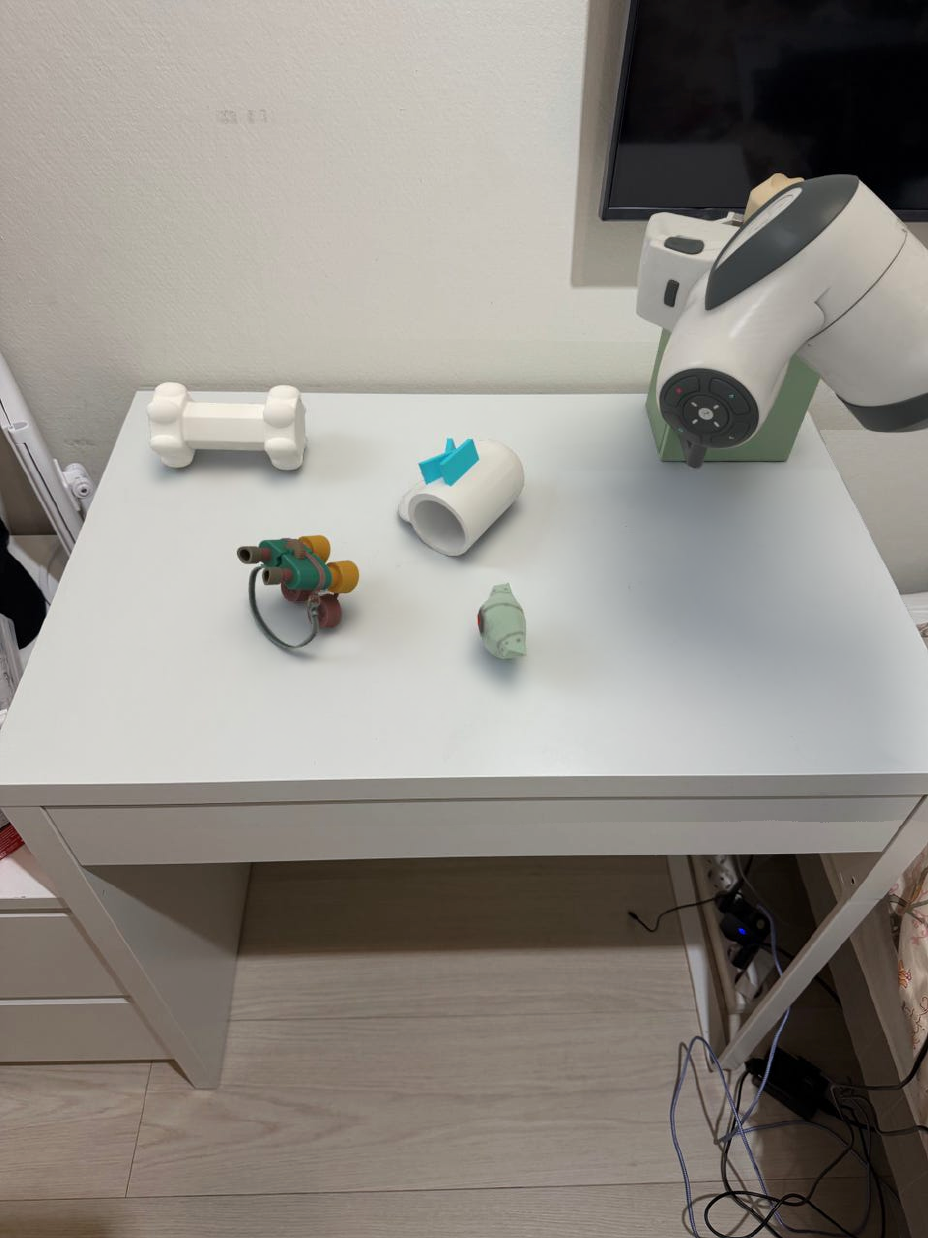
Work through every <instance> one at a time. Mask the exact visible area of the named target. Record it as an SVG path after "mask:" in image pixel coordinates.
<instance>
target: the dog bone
mask: <svg viewBox="0 0 928 1238" xmlns="http://www.w3.org/2000/svg"><path fill="white" fill-rule="evenodd" d="M301 397H302V395H301V392H300V390H299V389H298V388H296V387H295V386H292V385H287V384H279V385H275V386H273V387H272V388H271V389H269V390H268V392H267V397H266V401H265V403H237V402H236V403H233V402H231V403H230V402H195V401H194V400H193V399H192V397H191V396H190V394H189V391H188V389H187V388H186V386H185V385H183V384H181V383H179V382H174V381H173V382H172V381H170V382H169V381H167V382H163V383H160V384H158V385H157V386H156V387H155V389H154V392H153V397H152V399H151V402H149V404H147V406H146V412H145V413H146V416H147V418H148V428H149V435H150V436H149V438H150V441H149V448H150V449H151V450H152V451H153V452H154V453H156V454H158V455H159V456H160V461H161V462H162V464H164V466H166V467H170V468H176V469H177V468H184V467H187V466H189V465H190V464H191V463H192V462H193V459H194V455H195V453H196V451H197V450H218V451H219V450H221V451H223V450H225V451H264V452H265V453H266V454H267V455H268V457H269V458H270V461H271V464H272V466H273V467H275V468H276V469H279V470H280V471H281V470H282V471H293V470H296V469H298V468H300V467H301V466H302V464H303V462H304V452H305V448H306V446H307V444H308V438H307V434H306V433H307V431H306V412H307V408H306V406H305V404H304V403H303V401H302V398H301Z"/></svg>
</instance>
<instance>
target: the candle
mask: <svg viewBox="0 0 928 1238" xmlns="http://www.w3.org/2000/svg"><path fill="white" fill-rule="evenodd" d="M801 181H805V179H804V178H803V177H794V178H793V177H792V178H788V177H787V176H786V175H784V174H783V173H773V175H772V176H770V177H769V178H768V179H766V180H764V181H763V182H761V183H760V184H758V185H757V186H755V188H753V189H752V190H751V191H750V193H749V198H748V201H747V205H746V208H745V211H744V214H743V215H744V218H743V223H742V225H743V224H744V223H745V222H746V221H747V220H748V219H749V218H750V217H751V216H752V215H753V214H754V213H755V212H756V211H757V210H758V209H759V208H760V207H761V206H762V205H764V204H765V203H766V202H767V201H768V200H769V199H771V198H772V197H773V196H774V195H776V194H777V193H778V192H780V191H781V190H783V189H784V188H786V187H788V186H790V185H792V184H794V183H797V182H801Z"/></svg>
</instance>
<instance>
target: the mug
mask: <svg viewBox="0 0 928 1238" xmlns="http://www.w3.org/2000/svg"><path fill="white" fill-rule="evenodd" d="M445 443H446V444H445V448H444V453H443V452H442V453H440V454H439V455H435V456H432V457H431V458H428V459H425V460H423V461H421V462H418V467H419V470H420V472H421V476H422V477H423V480H421V481H420V482H418V483H416V484H415V485H414V486H413V487H411V488H410V489H409V490H408V491H407V492H406V493H404V495H403V496H402V497H401V500H400V502H399V503H398V508H397V513H398V515H399V517H400V518H401V519H402V520H404V521H405V522H407V523H410V525H411V526H412V528H413V529H414V531H415V533H416V534H417V535H418V536H419V538H420V539H421V540H422V541H423V542H424V543H425V544H426V545H428V547H430V548H431V549H433V550H434V551H436V552H438V553H440V554H442V555H445V556H448V557H458V556H461V555H463V554H465V553H466V552H467V551H468V550H469V549H470V548H471V547H472V546H473V544H474V543H475V542H477V540H479V538H480V537H481V536H482V535H483V534H484V533H486V531H487V530H489V528H490V527H491V526H493V524H494V523H495V522H496V521H497V520H498V519H499V518H500V517H501V516H502V515H503V514H504V512H506V510H508V509H509V508H510V507H511V506H512V505H513V503H514V502H515V501H516V500H517V499H518V498H519V496H520V495H521V494H522V490H523V488H524V484H525V470H524V467H523V464H522V461H521V460H520V458H519V456H518V454H517V453H516V452H515V451H514V450H513V449H512V448H511V447H510V446H508V445H507V444H505V443H502V442H501V441H498V440H494V439H480V440H477V441H474V439H473V438H467V439H465V441H464V442H462V443H461V444H460V445H459V446H458V447H456V444H455V441H454V439H453V438H451V437H447V438H446V442H445Z"/></svg>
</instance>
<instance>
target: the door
mask: <svg viewBox="0 0 928 1238" xmlns="http://www.w3.org/2000/svg"><path fill="white" fill-rule="evenodd" d="M820 380H821V378H819V377H818V376H817V375H816V374H815V373H814V372H813V371H812V370H811V369H810V368H809V367H808V366H807V365H806V364H805V363H804V362H802V361H801V360H800V359H799V358H798V357H797V356H796V355H795V354H793V355H792V357H791V358H790V362H789V366H788V369H787V372H786V375H785V378H784V381H783V384H782V386H781V389H780V391H779V394H778V396H777V399H776V401H775V403H774V405H773V407H772V409H771V411H770V413H769V415H768V416H767V418H766V420H765V421H764V423H763V425H762V426H761V428H760V429H759V430H758V432H757V433H756V434H755V435H754V436H753V437H752V438H751V439H750V440H748V441H747V442H745V443H743V444H741V445H739V446H736V447H732V448H726V449H714V448H707V447H703V446H699V445H696V444H694V443H692V442H690V441H688V440H686V439H685V438H683V437H682V436H680V435H679V434H678V433H677V432H676V431H674V430H673V429H672V428H671V427H670V426H669V425H668V424H667V427H666V431H665V435H664V439H663V442H662V446H661V450H660V454H658V456H659V459H660V461H661V462H686V465H687V467H689V468H691V469H695V470H698V469H700V468H702V466H703V465H704V462H719V461H720V462H761V461H762V462H787V461H788V459H789V456H790V454H791V451H792V449H793V447H794V444H795V441H796V439H797V436H798V434H799V432H800V430H801V428H802V424H803V422H804V421H805V420H804V419H805V416H806V414H807V412H808V409H809V407H810V404H811V403H812V400H813V397H814V395H815V392H816V390H817V387H818V385H819V382H820Z"/></svg>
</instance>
